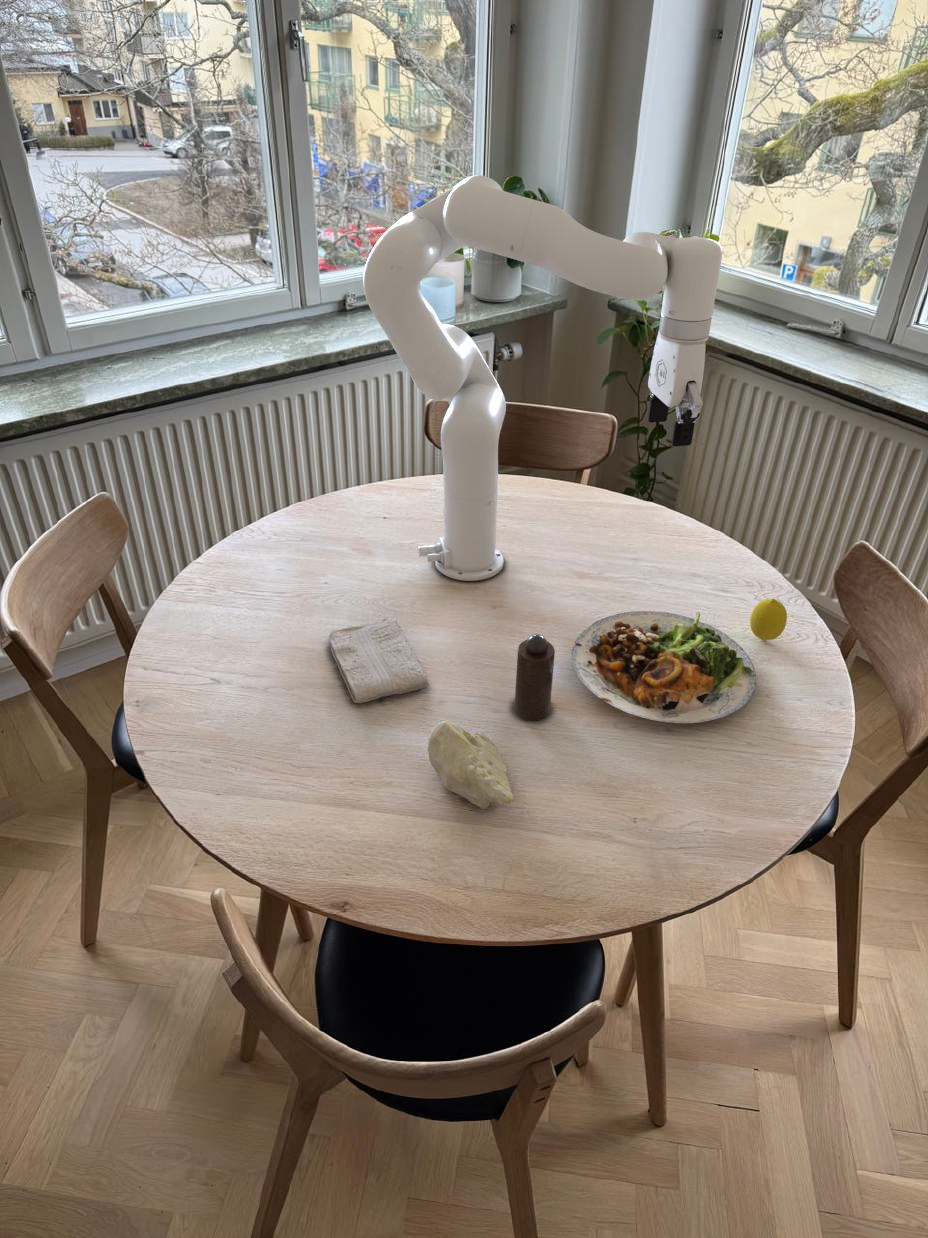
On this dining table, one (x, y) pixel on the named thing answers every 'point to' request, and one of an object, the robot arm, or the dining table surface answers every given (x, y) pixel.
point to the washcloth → (376, 660)
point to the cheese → (469, 764)
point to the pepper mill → (534, 678)
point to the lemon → (768, 619)
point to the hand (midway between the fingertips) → (668, 432)
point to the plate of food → (664, 667)
